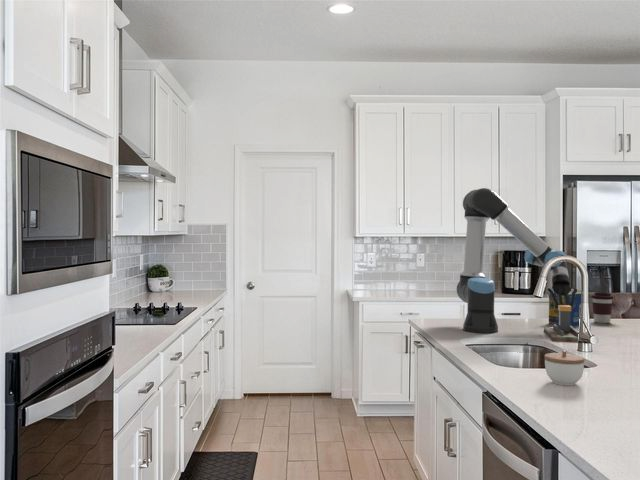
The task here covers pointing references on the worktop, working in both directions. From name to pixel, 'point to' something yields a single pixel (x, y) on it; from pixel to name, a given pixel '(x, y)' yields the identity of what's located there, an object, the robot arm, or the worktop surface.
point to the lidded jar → (564, 368)
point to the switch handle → (564, 317)
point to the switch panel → (562, 334)
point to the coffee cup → (602, 306)
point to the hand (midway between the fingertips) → (566, 320)
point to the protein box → (573, 313)
